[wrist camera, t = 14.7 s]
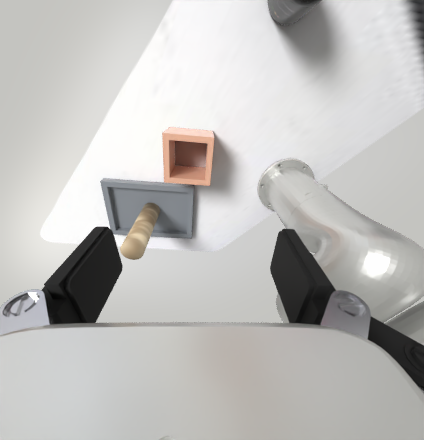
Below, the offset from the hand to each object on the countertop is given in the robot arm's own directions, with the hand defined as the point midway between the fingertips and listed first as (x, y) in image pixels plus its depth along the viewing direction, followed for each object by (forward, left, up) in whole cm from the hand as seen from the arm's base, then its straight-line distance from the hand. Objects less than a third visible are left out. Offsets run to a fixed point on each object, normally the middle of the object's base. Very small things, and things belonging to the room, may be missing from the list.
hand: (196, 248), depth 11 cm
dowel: (+11, +17, -34) cm, 39 cm away
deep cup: (+2, +2, -34) cm, 34 cm away
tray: (+11, +17, -34) cm, 40 cm away
